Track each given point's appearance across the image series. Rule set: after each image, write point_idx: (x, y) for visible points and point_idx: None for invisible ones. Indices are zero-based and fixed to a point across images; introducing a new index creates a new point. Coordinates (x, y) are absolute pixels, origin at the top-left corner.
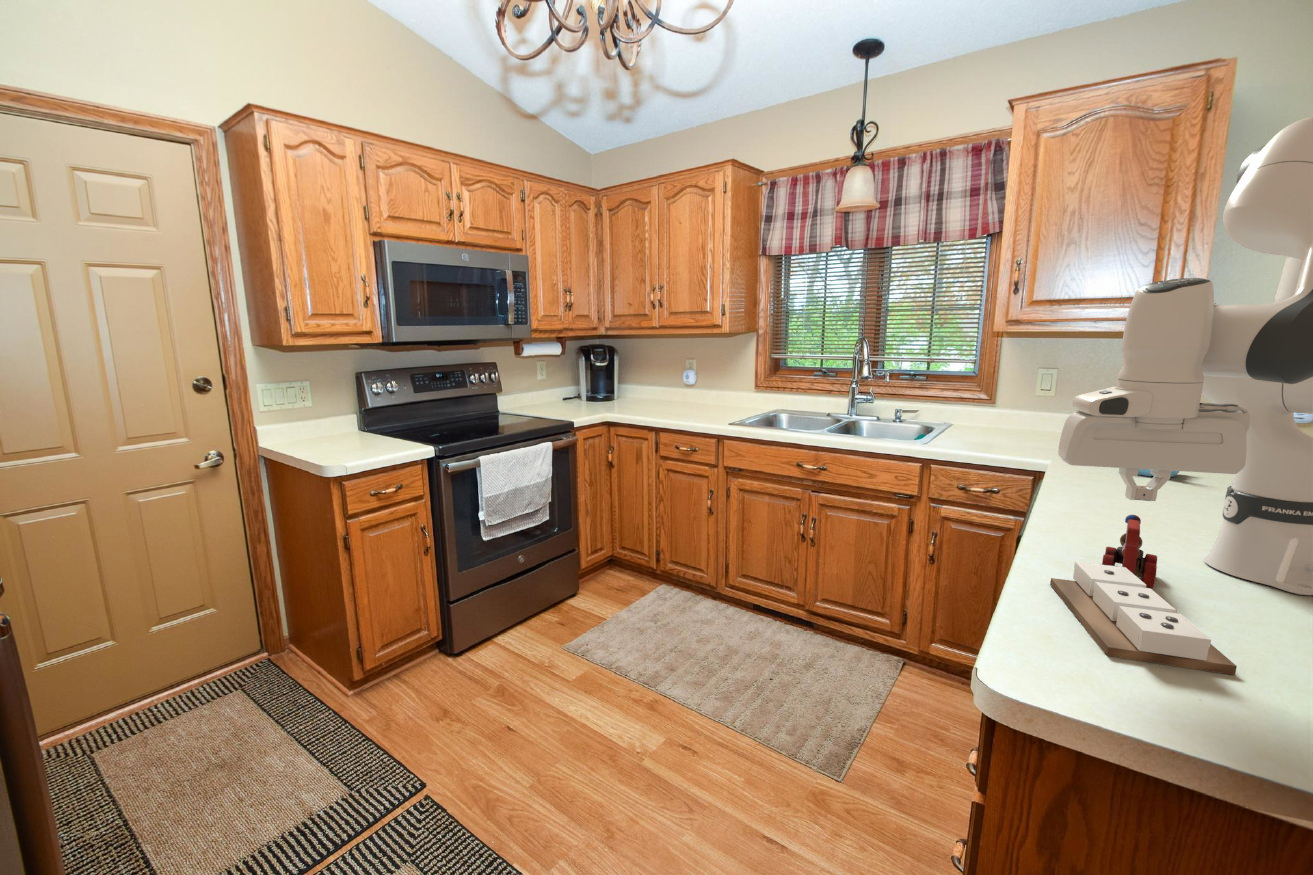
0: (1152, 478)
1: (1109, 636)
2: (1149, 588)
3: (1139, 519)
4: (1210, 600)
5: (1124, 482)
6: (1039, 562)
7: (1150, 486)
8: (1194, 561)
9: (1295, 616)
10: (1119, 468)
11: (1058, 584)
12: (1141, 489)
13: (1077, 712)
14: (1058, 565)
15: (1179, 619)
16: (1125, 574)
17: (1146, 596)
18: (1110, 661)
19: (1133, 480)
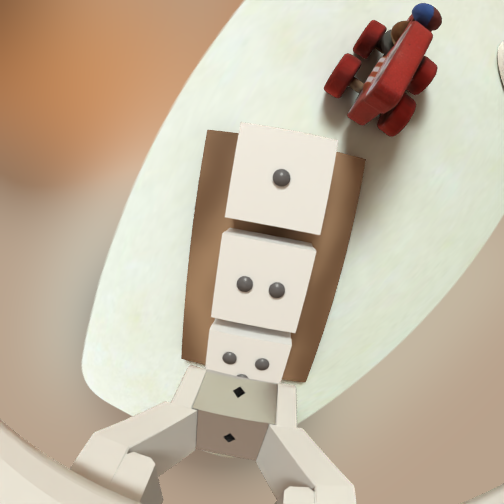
0: (296, 467)
1: (195, 336)
2: (314, 251)
3: (438, 24)
4: (446, 168)
5: (153, 408)
6: (246, 32)
7: (264, 453)
8: (488, 45)
9: (498, 214)
10: (81, 454)
11: (205, 160)
12: (212, 447)
13: (131, 412)
14: (276, 39)
15: (275, 360)
16: (312, 182)
17: (277, 297)
18: (183, 361)
19: (158, 472)
